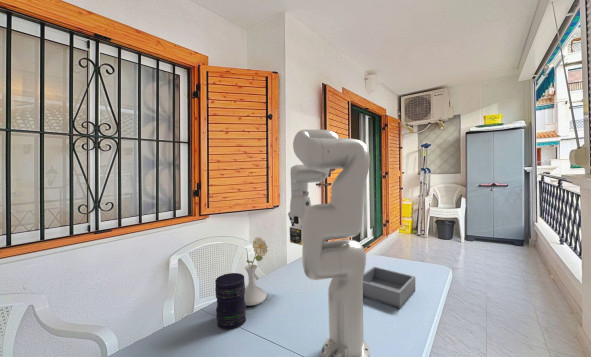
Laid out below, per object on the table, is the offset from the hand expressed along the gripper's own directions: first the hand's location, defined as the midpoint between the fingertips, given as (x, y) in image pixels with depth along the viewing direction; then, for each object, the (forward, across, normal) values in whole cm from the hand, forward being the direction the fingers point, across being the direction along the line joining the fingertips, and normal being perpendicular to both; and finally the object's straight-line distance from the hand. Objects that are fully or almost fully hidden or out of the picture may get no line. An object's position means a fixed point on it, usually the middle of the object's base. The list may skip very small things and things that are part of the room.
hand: (300, 233), depth 114 cm
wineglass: (+23, +5, -36) cm, 43 cm away
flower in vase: (+24, +4, +22) cm, 33 cm away
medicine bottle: (+4, 0, 0) cm, 4 cm away
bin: (+24, -28, -21) cm, 42 cm away
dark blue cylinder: (+24, -3, +36) cm, 43 cm away
